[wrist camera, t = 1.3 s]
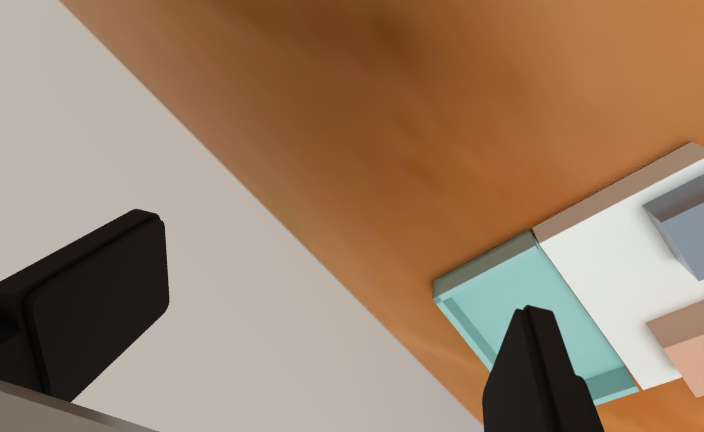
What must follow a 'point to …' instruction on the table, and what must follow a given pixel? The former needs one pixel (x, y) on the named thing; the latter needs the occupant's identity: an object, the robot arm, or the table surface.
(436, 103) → the table surface
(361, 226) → the table surface
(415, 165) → the table surface
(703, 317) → the salmon pink box
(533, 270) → the tray
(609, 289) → the white flat block
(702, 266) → the grey block
